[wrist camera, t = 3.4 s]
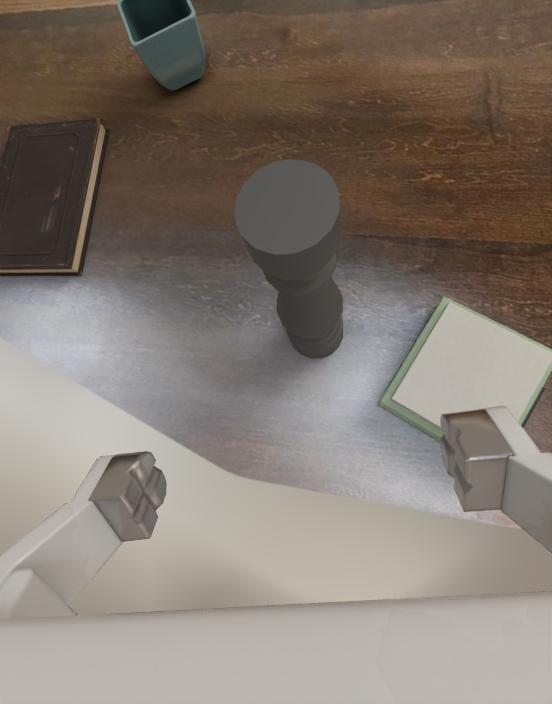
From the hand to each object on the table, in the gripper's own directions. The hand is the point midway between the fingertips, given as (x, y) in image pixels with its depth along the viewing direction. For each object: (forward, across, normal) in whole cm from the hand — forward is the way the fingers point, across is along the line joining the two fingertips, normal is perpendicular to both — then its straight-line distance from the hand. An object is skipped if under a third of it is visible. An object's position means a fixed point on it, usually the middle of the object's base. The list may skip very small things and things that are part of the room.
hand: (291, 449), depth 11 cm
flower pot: (+61, +14, -17) cm, 65 cm away
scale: (+26, -14, +20) cm, 35 cm away
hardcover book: (+49, +36, -5) cm, 61 cm away
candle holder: (+31, 0, +14) cm, 34 cm away
